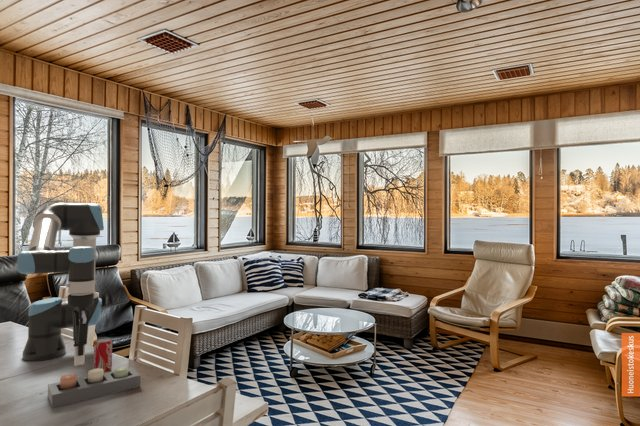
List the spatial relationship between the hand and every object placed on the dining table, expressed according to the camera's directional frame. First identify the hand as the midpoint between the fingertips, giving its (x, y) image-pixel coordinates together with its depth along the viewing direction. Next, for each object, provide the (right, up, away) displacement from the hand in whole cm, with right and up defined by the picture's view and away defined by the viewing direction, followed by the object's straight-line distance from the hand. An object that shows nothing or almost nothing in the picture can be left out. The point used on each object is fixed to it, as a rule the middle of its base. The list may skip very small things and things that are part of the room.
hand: (79, 364), depth 136 cm
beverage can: (-3, -11, +21) cm, 24 cm away
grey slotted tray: (+4, -10, +3) cm, 11 cm away
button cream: (+4, -6, +3) cm, 8 cm away
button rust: (-2, -6, -2) cm, 7 cm away
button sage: (+10, -8, +8) cm, 15 cm away
